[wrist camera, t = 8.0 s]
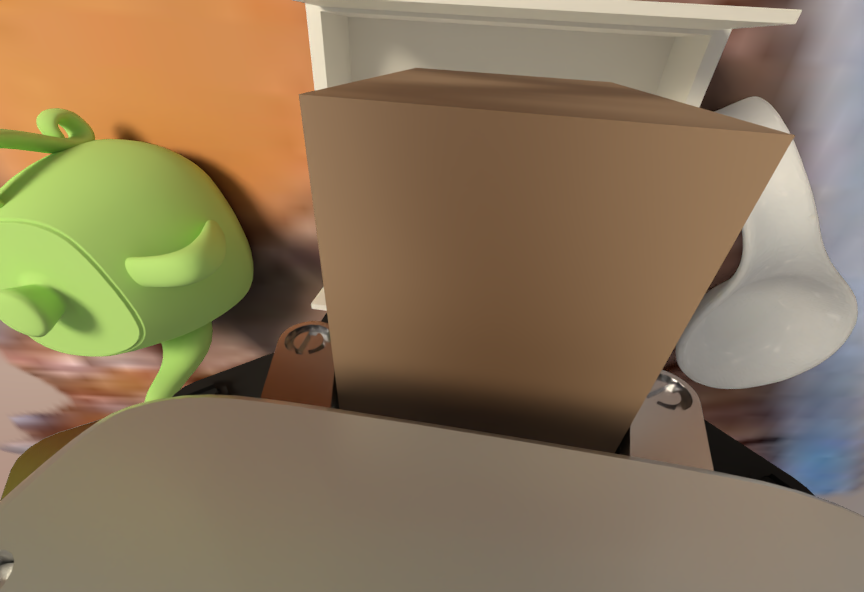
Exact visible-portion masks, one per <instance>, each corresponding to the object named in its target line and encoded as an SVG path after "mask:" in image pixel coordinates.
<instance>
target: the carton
mask: <svg viewBox="0 0 864 592" xmlns="http://www.w3.org/2000/svg"><path fill="white" fill-rule="evenodd" d="M294 1H298V2H303V3H305V5H306V14H307V23H308V33H309V42H310V51H311V60H312V69H313V78H314V88H315V91H316V90H320V89H325V88H329V87H333V86H338V85H342V84H347V83H351V82H355V81H360V80H364V79H369V78H373V77H377V76H382V75H386V74H391V73H395V72H399V71H404V70H408V69H413V68H427V69H440V70H454V71H467V72H481V73H495V74H508V75H522V76H535V77H549V78H562V79H576V80H589V81H603V82H613V83H616V84H619V85H623V86H626V87H630V88H633V89H637V90H640V91H644V92H647V93H651V94H654V95H657V96H661V97H664V98H668V99H671V100H675V101H678V102H682V103H685V104H688V105H692V106H695V107H700V105H701V102H702V100H703V97H704V95H705V93H706V90H707V88H708V85H709V83H710V81H711V78H712V76H713V73H714V71H715V69H716V66H717V64H718V61H719V59H720V57H721V54H722V52H723V50H724V47H725V45H726V42H727V40H728V38H729V35H730V33H731V30H732V29H736V28H749V27H763V26H776V25H790V24H796V22H797V20H798V18H799V16H800V14H801V11H802V10H795V9H777V8H759V7H740V6H722V5H704V4H685V3H667V2H649V1H630V0H294ZM311 306H312V309H318V310H325V311H327V308H326V301H325V293H324V286H323V288H322V289H321V291H320V292H319V293H318V295H317V296H316V298H315V299H314V300H313V302H312V303H311Z"/></svg>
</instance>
